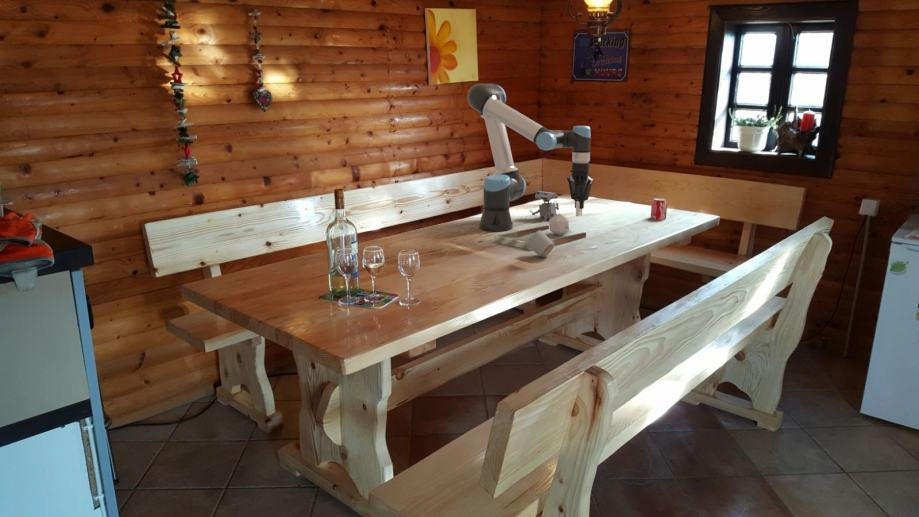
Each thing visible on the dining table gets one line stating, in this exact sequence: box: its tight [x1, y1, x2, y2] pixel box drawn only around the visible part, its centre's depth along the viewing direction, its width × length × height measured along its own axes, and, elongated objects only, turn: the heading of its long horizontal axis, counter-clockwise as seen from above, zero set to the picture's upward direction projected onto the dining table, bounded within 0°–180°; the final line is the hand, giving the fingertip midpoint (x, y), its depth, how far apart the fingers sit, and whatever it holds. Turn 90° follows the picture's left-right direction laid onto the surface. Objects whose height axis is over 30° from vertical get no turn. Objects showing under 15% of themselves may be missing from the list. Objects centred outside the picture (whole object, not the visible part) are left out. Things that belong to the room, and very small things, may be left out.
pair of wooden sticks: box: [493, 224, 587, 251], centre depth 282 cm, size 21×34×2 cm, turn 133°
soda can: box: [650, 197, 668, 221], centre depth 317 cm, size 7×7×12 cm
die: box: [548, 212, 570, 236], centre depth 290 cm, size 8×9×10 cm
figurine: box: [530, 190, 560, 222], centre depth 318 cm, size 9×12×15 cm
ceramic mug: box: [526, 230, 555, 258], centre depth 254 cm, size 11×8×8 cm
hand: (578, 215), depth 297 cm, fingers closed
